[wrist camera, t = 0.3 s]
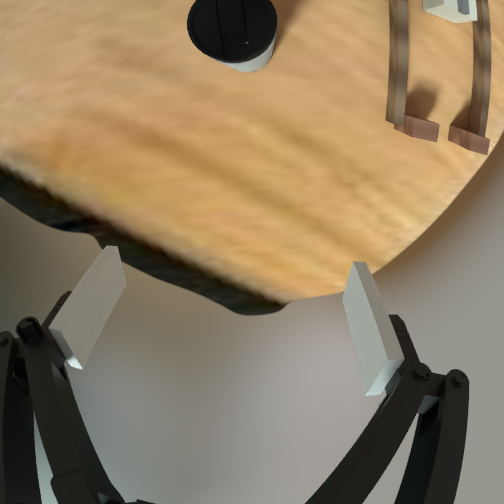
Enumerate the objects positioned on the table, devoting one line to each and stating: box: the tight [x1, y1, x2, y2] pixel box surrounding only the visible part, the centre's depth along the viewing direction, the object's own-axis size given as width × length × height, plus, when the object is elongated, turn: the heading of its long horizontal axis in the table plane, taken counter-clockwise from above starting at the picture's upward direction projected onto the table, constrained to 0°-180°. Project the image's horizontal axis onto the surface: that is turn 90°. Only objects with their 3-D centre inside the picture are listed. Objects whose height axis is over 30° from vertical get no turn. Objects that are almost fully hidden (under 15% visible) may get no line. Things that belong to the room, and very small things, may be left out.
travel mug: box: [187, 0, 277, 72], centre depth 23 cm, size 6×7×20 cm
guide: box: [386, 0, 491, 155], centre depth 25 cm, size 29×17×6 cm, turn 0°
